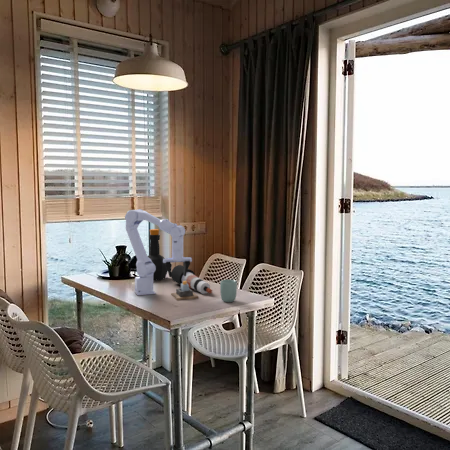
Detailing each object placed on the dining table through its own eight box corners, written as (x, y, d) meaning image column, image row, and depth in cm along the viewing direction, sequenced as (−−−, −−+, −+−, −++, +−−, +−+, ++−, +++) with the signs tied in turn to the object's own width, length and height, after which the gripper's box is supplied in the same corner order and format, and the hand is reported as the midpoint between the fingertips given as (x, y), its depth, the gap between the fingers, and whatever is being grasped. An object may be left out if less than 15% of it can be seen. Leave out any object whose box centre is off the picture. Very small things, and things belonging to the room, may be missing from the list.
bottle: (135, 278, 266) (135, 229, 264) (158, 275, 278) (158, 227, 275) (150, 282, 255) (150, 231, 252) (173, 279, 266) (173, 229, 263)
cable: (206, 304, 225) (199, 289, 221) (174, 285, 253) (168, 271, 249) (221, 293, 230) (215, 278, 226) (188, 276, 257) (182, 261, 253)
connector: (182, 296, 221) (183, 282, 220) (180, 294, 224) (180, 280, 224) (188, 295, 222) (188, 281, 221) (186, 293, 225) (186, 280, 225)
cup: (229, 298, 221) (229, 278, 220) (239, 301, 215) (239, 281, 214) (217, 301, 215) (217, 280, 215) (227, 304, 210) (227, 283, 209)
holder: (176, 300, 216) (176, 293, 216) (171, 295, 226) (171, 288, 226) (198, 298, 220) (198, 291, 220) (191, 293, 231) (191, 286, 230)
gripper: (165, 251, 216) (165, 278, 217) (193, 250, 221) (193, 276, 222) (162, 249, 222) (161, 275, 224) (189, 248, 228) (189, 274, 229)
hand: (177, 276), depth 223 cm, fingers open, 7 cm apart
